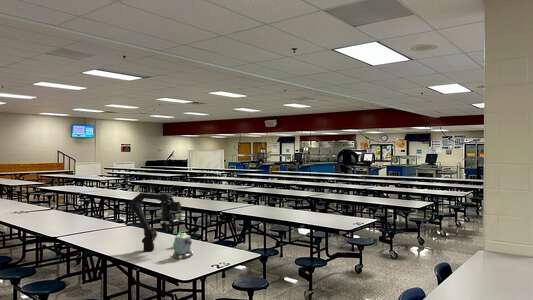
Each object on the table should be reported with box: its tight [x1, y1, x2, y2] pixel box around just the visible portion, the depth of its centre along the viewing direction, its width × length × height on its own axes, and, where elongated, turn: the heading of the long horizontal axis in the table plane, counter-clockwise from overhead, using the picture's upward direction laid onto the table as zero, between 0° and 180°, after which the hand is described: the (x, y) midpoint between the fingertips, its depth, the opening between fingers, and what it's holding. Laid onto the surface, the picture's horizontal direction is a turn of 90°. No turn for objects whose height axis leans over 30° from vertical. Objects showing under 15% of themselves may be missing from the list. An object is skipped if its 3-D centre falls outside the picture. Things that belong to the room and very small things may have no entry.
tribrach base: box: [172, 250, 194, 261], centre depth 246 cm, size 13×13×4 cm
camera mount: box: [172, 232, 184, 248], centre depth 271 cm, size 12×8×10 cm, turn 152°
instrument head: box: [173, 232, 193, 254], centre depth 245 cm, size 10×10×13 cm
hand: (166, 233), depth 258 cm, fingers closed
